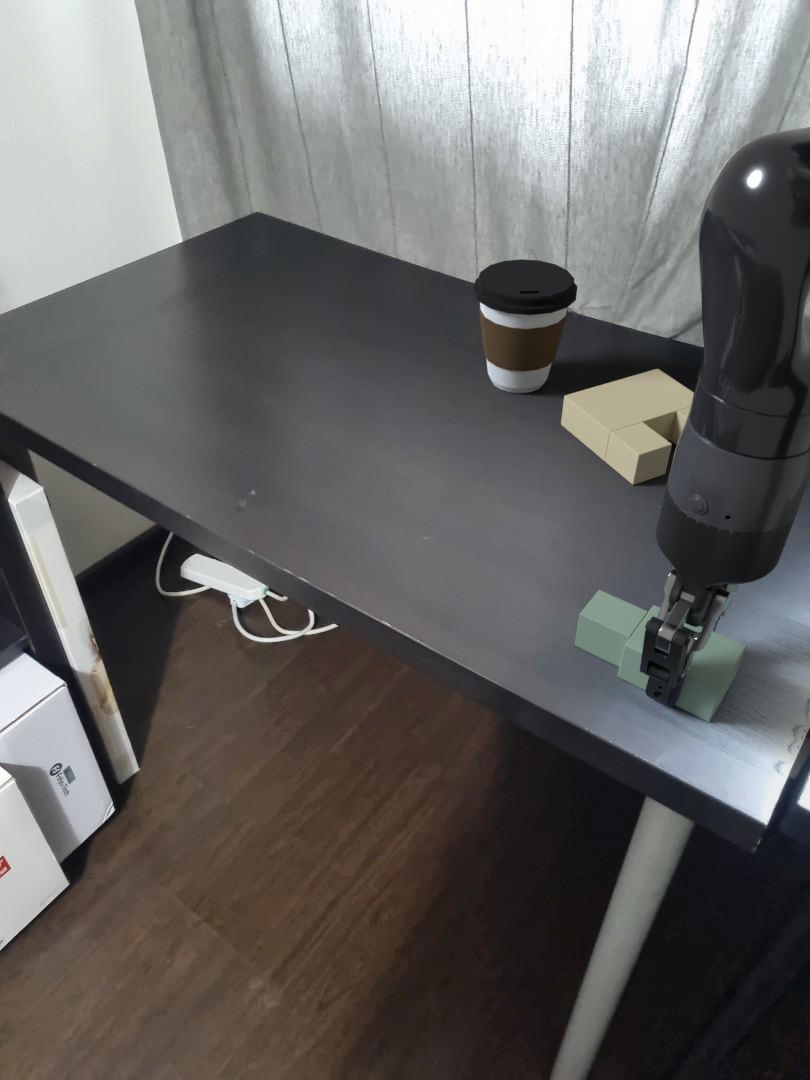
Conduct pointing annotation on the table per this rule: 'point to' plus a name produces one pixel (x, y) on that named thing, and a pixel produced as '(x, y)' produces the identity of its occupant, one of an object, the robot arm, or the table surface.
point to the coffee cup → (522, 320)
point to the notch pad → (630, 422)
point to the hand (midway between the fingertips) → (676, 673)
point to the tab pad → (619, 641)
